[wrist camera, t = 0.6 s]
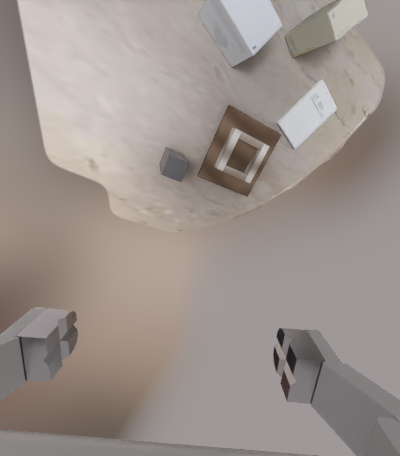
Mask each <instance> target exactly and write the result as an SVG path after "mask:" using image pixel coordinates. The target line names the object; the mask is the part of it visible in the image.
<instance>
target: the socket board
mask: <svg viewBox="0 0 400 456" xmlns="http://www.w3.org/2000/svg"><path fill="white" fill-rule="evenodd" d="M280 136H281V134H279V133H277V132H276V131H274V130H272V129H270V128H269V127H267V126H265V125H263V124H262V123H260V122H258V121H256V120H255V119H253V118H251V117H249V116H248V115H246V114H244V113H242V112H241V111H239V110H237V109H235V108H234V107H232V106H230V105H228V107H227V110H226V112H225V114H224V116H223V119H222V121H221V123H220V125H219V128H218V130H217V132H216V134H215V137H214V139H213V141H212V143H211V146H210V148H209V150H208V152H207V155H206V157H205V159H204V162H203V164H202V166H201V168H200V171H199V173H198V176H199V177H201V178H204V179H206V180H208V181H211V182H213V183H216V184H218V185H220V186H223V187H225V188H228V189H230V190H232V191H235V192H237V193H240V194H242V195H245V196H247V197H248V195H249V193H250V191H251V189H252V187H253V186H254V184H255V182H256V180H257V178H258V176H259V175H260V173H261V171H262V169H263V167H264V165H265V164H266V162H267V160H268V158H269V156H270V154H271V153H272V151H273V149H274V147H275V145H276V143H277V142H278V140H279V138H280Z"/></svg>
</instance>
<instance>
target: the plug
mask: <svg viewBox="0 0 400 456" xmlns="http://www.w3.org/2000/svg"><path fill="white" fill-rule="evenodd" d="M188 164H189V162H188V161H187V159H186V158H185V157H184V155H183V154H181V153H178V152H176V151H174V150H172V149H169V148H167V147H166V149H165V151H164V154H163V157H162V159H161V162H160V169H161V174H162V175H164V176H167V177H169V178H172V179H174V180H177V181H180V182H181V181H182V179H183V176H184V174H185V172H186V169H187V167H188Z"/></svg>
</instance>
